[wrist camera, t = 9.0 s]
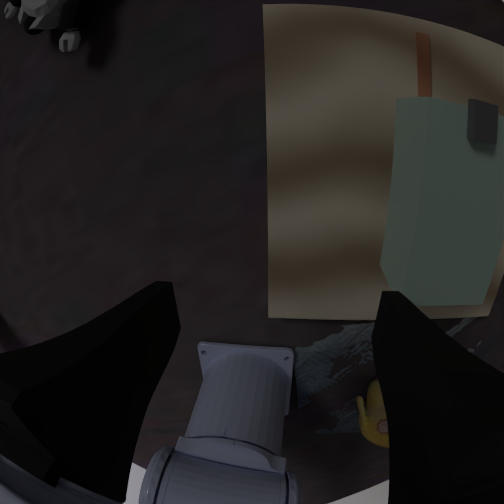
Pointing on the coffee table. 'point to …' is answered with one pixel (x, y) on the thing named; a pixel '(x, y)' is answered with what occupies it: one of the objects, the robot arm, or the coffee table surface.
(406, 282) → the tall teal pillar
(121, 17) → the coffee table surface
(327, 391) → the coffee table surface
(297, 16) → the base
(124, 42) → the coffee table surface
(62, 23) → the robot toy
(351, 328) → the stuffed giraffe
